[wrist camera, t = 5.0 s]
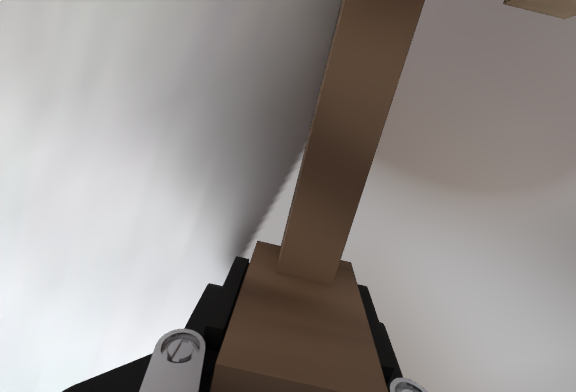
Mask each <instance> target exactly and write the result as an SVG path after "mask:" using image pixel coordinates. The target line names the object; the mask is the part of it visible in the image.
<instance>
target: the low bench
mask: <svg viewBox="0 0 576 392" xmlns="http://www.w3.org/2000/svg"><path fill="white" fill-rule="evenodd" d="M503 4H505V5H509V6H514V7H518V8H522V9H526V10H530V11H534V12H538V13H542V14H546V15H551V16H555V17H559V18H563V19H566V18H568V17H572V16H575V15H576V0H504V3H503Z"/></svg>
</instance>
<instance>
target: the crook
mask: <svg viewBox="0 0 576 392" xmlns="http://www.w3.org/2000/svg"><path fill="white" fill-rule="evenodd" d="M424 1H425V0H342V2H341V6H340V10H339V14H338V18H337V22H336V26H335V30H334V34H333V38H332V42H331V47H330V51H329V55H328V59H327V63H326V67H325V71H324V75H323V79H322V83H321V87H320V91H319V95H318V99H317V103H316V107H315V111H314V115H313V119H312V123H311V127H310V131H309V135H308V139H307V143H306V147H305V151H304V155H303V159H302V163H301V167H300V171H299V175H298V179H297V184H296V188H295V192H294V196H293V200H292V204H291V208H290V212H289V216H288V220H287V224H286V228H285V232H284V236H283V240H282V244H281V246H277V245H273V244H269V243H265V242H260V241H257V244H256V247H255V250H254V253H253V255H252V258H251V262H250V264H249V267H248V270H247V273H246V276H245V279H244V282H243V285H242V288H241V291H240V293H239V296H238V299H237V302H236V305H235V308H234V311H233V314H232V317H231V320H230V323H229V326H228V329H227V332H226V335H225V338H224V340H223V343H222V346H221V349H220V352H219V355H218V358H217V361H216V364H215V369H214V374H213V379H212V385H211V390H210V392H388V389H387V386H386V382H385V379H384V375H383V372H382V368H381V365H380V362H379V358H378V355H377V351H376V348H375V344H374V341H373V337H372V334H371V330H370V327H369V323H368V320H367V316H366V313H365V309H364V306H363V303H362V299H361V296H360V292H359V289H358V285H357V282H356V278H355V275H354V271H353V268H352V265H351V262H347V261H342V260H340V259H341V256H342V253H343V250H344V247H345V244H346V241H347V238H348V235H349V232H350V229H351V226H352V223H353V219H354V216H355V213H356V210H357V207H358V204H359V201H360V198H361V195H362V192H363V189H364V186H365V182H366V179H367V176H368V173H369V170H370V167H371V164H372V161H373V158H374V155H375V152H376V149H377V146H378V142H379V140H380V137H381V133H382V130H383V127H384V124H385V121H386V118H387V115H388V112H389V109H390V106H391V103H392V100H393V97H394V93H395V90H396V87H397V84H398V81H399V78H400V75H401V72H402V69H403V66H404V63H405V60H406V56H407V53H408V50H409V47H410V44H411V41H412V38H413V35H414V32H415V29H416V26H417V23H418V20H419V17H420V13H421V10H422V7H423V4H424Z"/></svg>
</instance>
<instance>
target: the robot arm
mask: <svg viewBox="0 0 576 392" xmlns="http://www.w3.org/2000/svg"><path fill="white" fill-rule="evenodd" d="M249 264H250V263H249V259H246V258H242V257H237V256H236V258H235V260H234V262H233V265H232V267H231V269H230V271H229V274H228V276H227V278H226V280H225V283H224V285H223V286H219V285H215V284H210V283H209V284H208V285H207V287H206V289H205V290H204V292H203V294H202V296H201V298H200V300H199V302H198V304H197V305H196V307H195V309H194V311H193V313H192V315H191V317H190V319H189V321H188V322H187V324H186V326H185V328H184V329H177V330H173V331H170V332H168V333H166V334H164V335H163V336H162V337H161V338H160V339H159V340H158V342H157V344H156V346H155V349H154V352H153V354H150V355H148V356H145V357H143V358H140V359H138V360H135V361H133V362H130V363H128V364H125V365H123V366H120V367H118V368H115V369H113V370H111V371H108V372H106V373H103V374H101V375H98V376H96V377H93V378H91V379H88V380H86V381H83V382H81V383H78V384H76V385H73V386H71V387H70V388H68V389H66V390H64V391H62V392H210V390H211V385H212V379H213V374H214V369H215V364H216V361H217V358H218V355H219V352H220V349H221V346H222V343H223V340H224V338H225V335H226V332H227V329H228V326H229V323H230V320H231V317H232V314H233V311H234V308H235V305H236V302H237V299H238V296H239V293H240V291H241V288H242V285H243V282H244V279H245V276H246V273H247V270H248V267H249ZM357 285H358V284H357ZM358 289H359V292H360V296H361V299H362V303H363V306H364V309H365V313H366V316H367V320H368V323H369V327H370V330H371V334H372V337H373V341H374V344H375V348H376V351H377V355H378V358H379V362H380V365H381V368H382V372H383V375H384V379H385V382H386V386H387V389H388V392H427V391H426V390H425V389H424V388H423V387H422V386H420V385H419V384H418V383H416V382H414V381H412V380H410V379H406V378H403V376H402V373H401V370H400V368H399V365H398V362H397V359H396V356H395V353H394V351H393V348H392V345H391V342H390V339H389V336H388V334H387V331H386V328H385V326H384V324H383V323H381V322H379V320H378V317H377V314H376V311H375V308H374V305H373V303H372V299H371V296H370V293H369V291H368V288H367V287H366V286H363V285H358Z"/></svg>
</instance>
